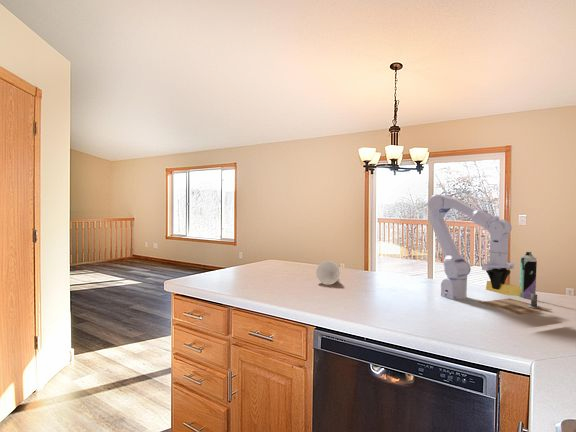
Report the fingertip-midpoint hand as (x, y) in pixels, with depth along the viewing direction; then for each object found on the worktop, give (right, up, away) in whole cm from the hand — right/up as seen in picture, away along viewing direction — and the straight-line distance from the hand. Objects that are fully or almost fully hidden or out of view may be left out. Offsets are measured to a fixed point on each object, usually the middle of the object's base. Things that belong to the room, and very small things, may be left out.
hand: (497, 288), depth 128 cm
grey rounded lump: (-55, -6, +45) cm, 71 cm away
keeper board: (+7, -8, +1) cm, 10 cm away
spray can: (+21, -8, +14) cm, 26 cm away
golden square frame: (+3, -2, +1) cm, 4 cm away
